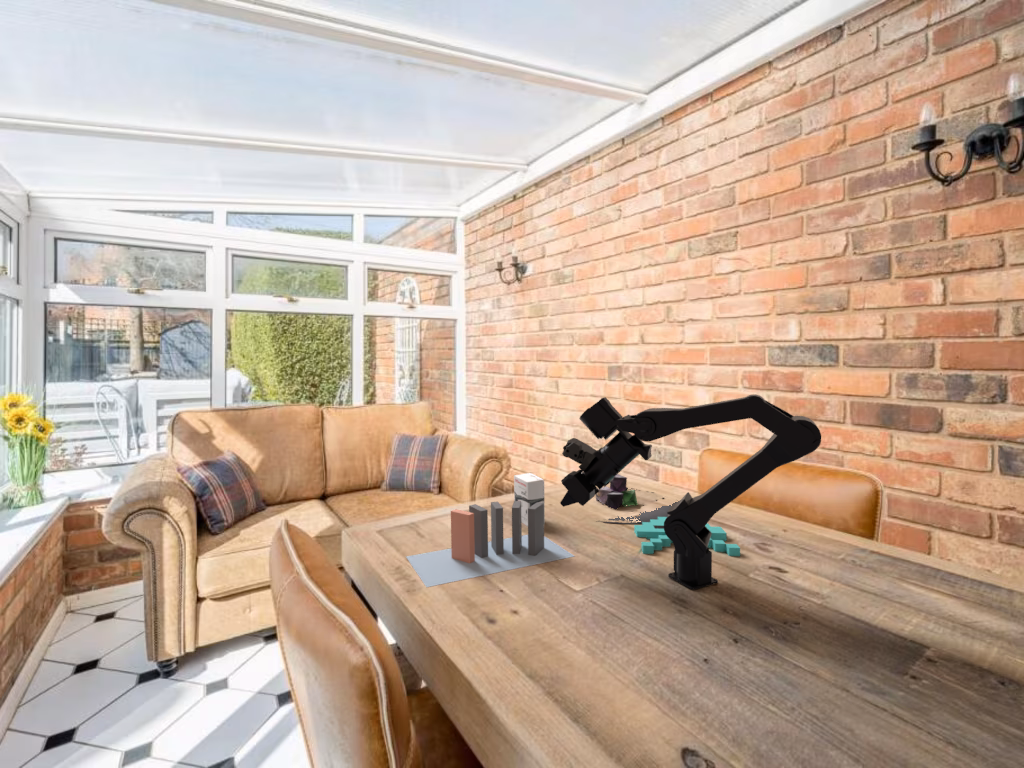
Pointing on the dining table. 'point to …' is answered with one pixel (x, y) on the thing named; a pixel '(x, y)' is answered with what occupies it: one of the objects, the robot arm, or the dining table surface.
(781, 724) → the dining table surface
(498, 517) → the domino
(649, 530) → the alien figure
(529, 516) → the domino
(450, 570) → the mat
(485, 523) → the domino
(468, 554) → the domino
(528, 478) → the ink box
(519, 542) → the domino
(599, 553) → the dining table surface
